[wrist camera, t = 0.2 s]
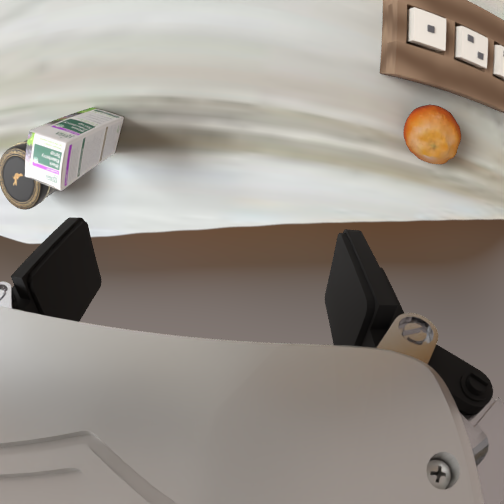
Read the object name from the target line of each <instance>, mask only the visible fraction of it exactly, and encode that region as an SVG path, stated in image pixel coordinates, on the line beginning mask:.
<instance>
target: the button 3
mask: <svg viewBox="0 0 504 504" xmlns="http://www.w3.org/2000/svg"><path fill="white" fill-rule="evenodd" d="M493 75H495V76H497V77H499V78H501V79H503V80H504V47H503V46H501V45H494V59H493Z"/></svg>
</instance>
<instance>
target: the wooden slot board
mask: <svg viewBox="0 0 504 504" xmlns="http://www.w3.org/2000/svg"><path fill="white" fill-rule="evenodd" d="M413 7H415V8H418V9H421V10H424V11H427V12H429V13H432V14H435V15H437V16H440V17H443V18H445V19H446V50H445V51H435V50H432V49H429V48H426V47H423V46H420V45H417V44H414V43H410V42H407V10H408V9H411V8H413ZM457 26H464V27H466V28H468V29H470V30H472V31H474V32H477V33H479V34H481V35H483V36H485V37H487V38H488V57H487V68H478V67H476V66H474V65H471V64H469V63H467V62H464V61H462V60H459V59H457V58H454V47H455V27H457ZM494 45H501V46H503V47H504V20H502V19H500V18H499V17H497V16H495V15H493V14H492V13H490V12H488V11H486V10H484V9H483V8H481V7H479V6H477V5H475V4H473V3H471V2H469V1H467V0H383V27H382V49H381V65H380V73H381V74H385V75H390V76H394V77H398V78H402V79H406V80H410V81H414V82H417V83H421V84H425V85H428V86H431V87H435V88H438V89H441V90H444V91H447V92H450V93H453V94H456V95H459V96H462V97H465V98H467V99H470V100H473V101H475V102H478V103H481V104H483V105H486V106H488V107H491V108H493V109H495V110H498V111H500V112H503V113H504V80H503V79H501V78H499V77H497V76H495V75H493V59H494Z"/></svg>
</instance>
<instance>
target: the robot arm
mask: <svg viewBox="0 0 504 504" xmlns="http://www.w3.org/2000/svg"><path fill="white" fill-rule="evenodd" d="M11 278H12V280H13V283H14V286H13V288H12V287H11V285H10V284H9V283H7V282H0V504H500V503H501V502H502V500H503V499H504V402H503V401H501V399H500V398H498V399H497V400H494V398H493V397H492V395H493V389H492V385H491V382H490V380H489V379H488V378H487V376H486V375H485V374H484V373H482V372H481V371H480V370H478V369H476V368H475V367H473V366H471V365H470V364H468V363H466V362H465V361H463V360H461V359H460V358H458V357H457V356H455V355H453V354H451V353H450V352H448V351H446V350H445V349H443V348H441V347H440V346H438V345H436V343H437V341H438V333H437V329H436V328H435V326H434V325H433V324H432V323H431V322H430V321H429V320H428V319H426V318H425V317H423V316H420V315H418V314H414V313H404V312H403V310H402V307H401V305H400V303H399V301H398V299H397V297H396V295H395V293H394V290H393V288H392V286H391V284H390V282H389V280H388V278H387V276H386V274H385V272H384V270H383V269H382V268H380V267H379V265H378V263H377V261H376V259H375V257H374V255H373V253H372V251H371V249H370V247H369V245H368V244H367V241H366V240H365V238H364V236H363V234H362V232H361V231H359V230H344V232H343V233H339V234H338V238H337V242H336V247H335V252H334V257H333V262H332V266H331V271H330V276H329V280H328V284H327V289H326V293H325V304H326V309H327V314H328V319H329V323H330V328H331V333H332V338H333V343H334V345H316V344H285V343H262V342H244V341H230V340H218V339H217V340H216V339H206V338H195V337H184V336H175V335H166V334H158V333H149V332H142V331H134V330H127V329H120V328H113V327H107V326H100V325H94V324H88V323H82V322H79V321H80V319H81V317H82V316H83V314H84V313H85V311H86V309H87V308H88V306H89V304H90V303H91V301H92V299H93V298H94V296H95V295H96V293H97V291H98V290H99V288H100V286H101V276H100V273H99V269H98V265H97V261H96V257H95V254H94V249H93V245H92V241H91V237H90V232H89V228H88V224H87V222H85V221H84V220H83V219H82V218H68V219H67V220H66V221H65V222H64V223H62V224H61V225H60V226H59V227H58V228H57V229H56V230H55V231H54V232H53V233H52V234H51V235H50V236H49V237H48V238H47V239H46V240H45V241H44V242H43V243H42V244H41V245H40V246H39V247H38V248H37V249H36V250H35V251H34V252H33V253H32V254H31V255H30V256H29V257H28V258H27V259H26V260H25V262H24V263H23V264H22V265H21V266H20V267H19V268H18V269H17V270H16V271H15V272H14V274H13V275H12V276H11Z"/></svg>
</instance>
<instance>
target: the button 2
mask: <svg viewBox="0 0 504 504" xmlns="http://www.w3.org/2000/svg"><path fill="white" fill-rule="evenodd" d="M487 57H488V38H487V37H485V36H483V35H481V34H479V33H477V32H474V31H472V30H470V29H468V28H466V27H464V26H457V27H455V47H454V58H457V59H459V60H462V61H464V62H467V63H469V64H471V65H474V66H476V67H478V68H487Z"/></svg>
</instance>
